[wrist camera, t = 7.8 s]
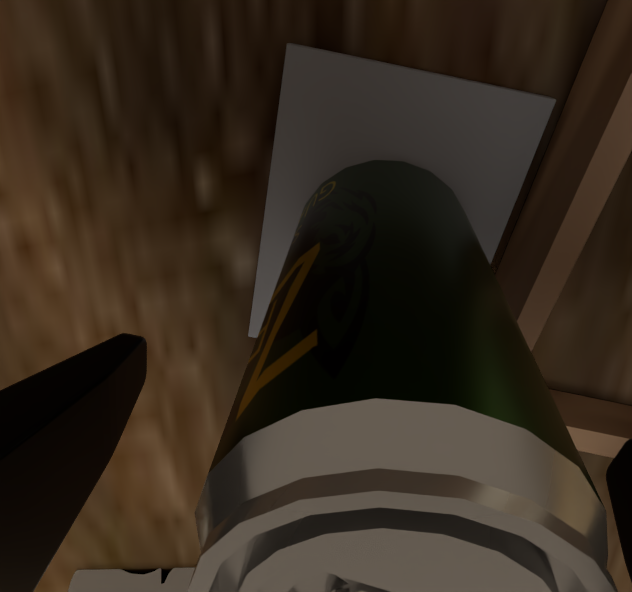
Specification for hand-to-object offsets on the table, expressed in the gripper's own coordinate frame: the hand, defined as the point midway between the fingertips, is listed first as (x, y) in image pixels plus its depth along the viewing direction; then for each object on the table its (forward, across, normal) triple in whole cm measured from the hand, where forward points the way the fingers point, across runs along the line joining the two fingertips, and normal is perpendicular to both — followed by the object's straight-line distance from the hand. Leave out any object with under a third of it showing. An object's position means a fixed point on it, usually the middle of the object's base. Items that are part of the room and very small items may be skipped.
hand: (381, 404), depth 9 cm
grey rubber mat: (+9, 0, 0) cm, 9 cm away
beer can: (+8, 0, 0) cm, 8 cm away
